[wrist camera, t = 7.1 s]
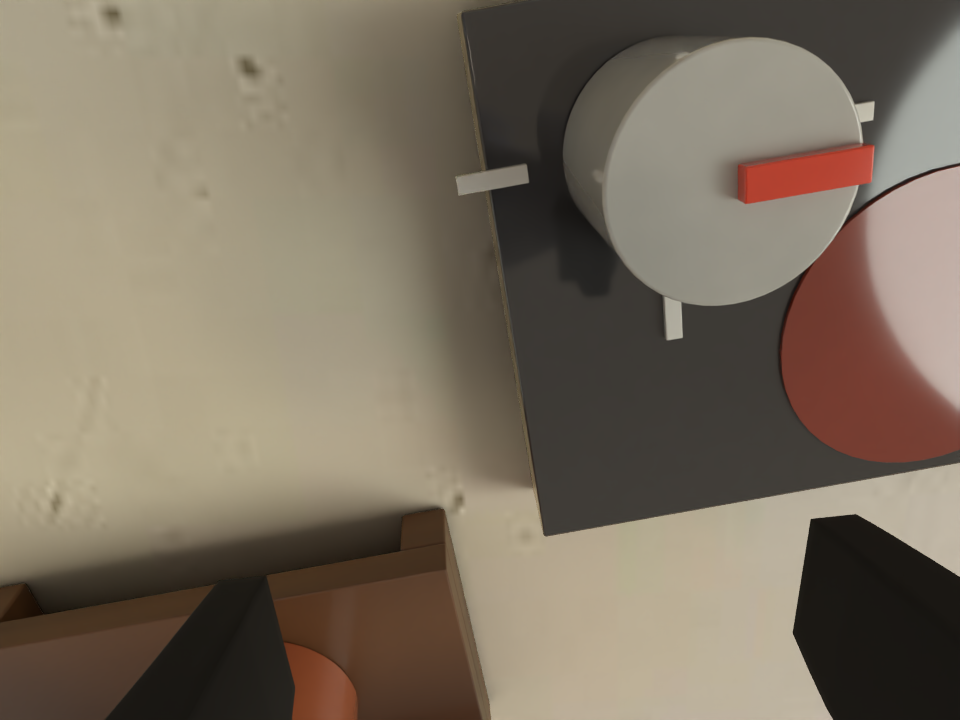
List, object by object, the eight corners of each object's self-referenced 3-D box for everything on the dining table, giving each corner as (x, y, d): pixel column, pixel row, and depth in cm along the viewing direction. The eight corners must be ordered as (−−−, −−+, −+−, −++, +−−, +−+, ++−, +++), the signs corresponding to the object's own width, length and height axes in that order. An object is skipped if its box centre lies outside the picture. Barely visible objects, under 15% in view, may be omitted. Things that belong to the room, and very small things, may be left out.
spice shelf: (-16, 589, 20) (-132, 735, 16) (444, 506, 20) (448, 632, 15) (97, 772, 23) (27, 932, 19) (489, 704, 23) (503, 848, 19)
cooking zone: (782, 196, 14) (784, 197, 14) (1131, 133, 14) (1136, 133, 14) (776, 483, 18) (778, 486, 17) (1064, 432, 17) (1068, 434, 17)
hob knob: (573, 262, 15) (617, 334, 11) (551, 55, 13) (596, 64, 10) (763, 230, 15) (866, 290, 11) (766, 18, 13) (889, 14, 10)
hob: (416, -42, 14) (414, -54, 12) (1150, -178, 14) (1269, -212, 12) (511, 494, 20) (521, 546, 18) (1035, 401, 19) (1103, 442, 17)
